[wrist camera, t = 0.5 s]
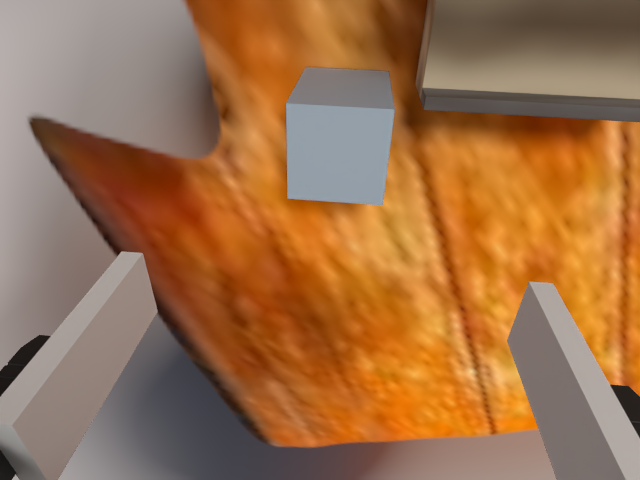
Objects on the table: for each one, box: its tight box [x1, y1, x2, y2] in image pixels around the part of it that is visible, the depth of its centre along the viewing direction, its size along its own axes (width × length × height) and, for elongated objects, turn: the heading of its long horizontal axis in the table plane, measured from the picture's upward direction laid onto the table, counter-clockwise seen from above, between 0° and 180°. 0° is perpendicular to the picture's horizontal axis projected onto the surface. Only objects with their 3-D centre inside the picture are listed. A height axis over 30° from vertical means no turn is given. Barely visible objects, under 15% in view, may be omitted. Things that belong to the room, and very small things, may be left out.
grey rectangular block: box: [286, 67, 395, 205], centre depth 29 cm, size 6×6×9 cm
